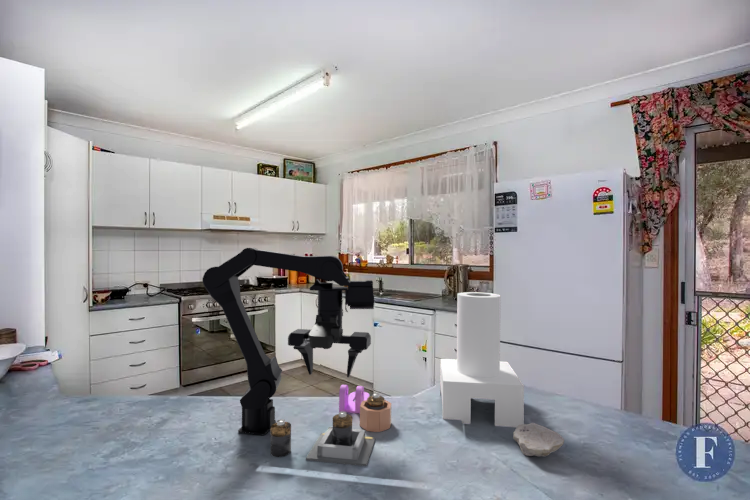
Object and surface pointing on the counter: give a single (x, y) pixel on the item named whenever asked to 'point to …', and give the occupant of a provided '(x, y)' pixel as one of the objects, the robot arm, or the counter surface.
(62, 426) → the counter surface
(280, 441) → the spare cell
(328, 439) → the cradle
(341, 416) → the cell
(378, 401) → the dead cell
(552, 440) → the fossil
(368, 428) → the cup
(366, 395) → the bracket
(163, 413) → the counter surface
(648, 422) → the counter surface
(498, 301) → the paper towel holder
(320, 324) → the robot arm
